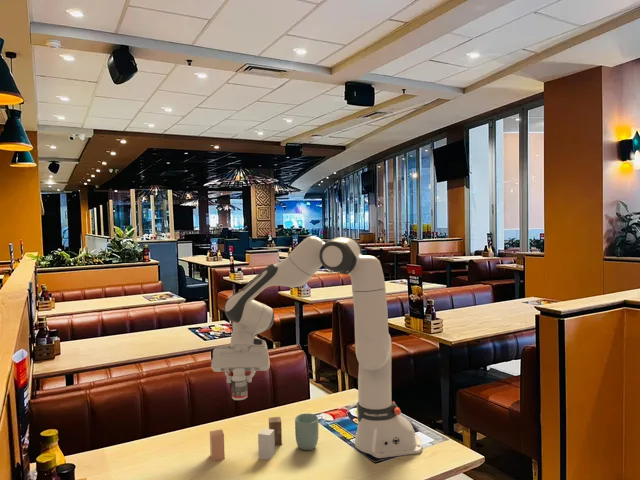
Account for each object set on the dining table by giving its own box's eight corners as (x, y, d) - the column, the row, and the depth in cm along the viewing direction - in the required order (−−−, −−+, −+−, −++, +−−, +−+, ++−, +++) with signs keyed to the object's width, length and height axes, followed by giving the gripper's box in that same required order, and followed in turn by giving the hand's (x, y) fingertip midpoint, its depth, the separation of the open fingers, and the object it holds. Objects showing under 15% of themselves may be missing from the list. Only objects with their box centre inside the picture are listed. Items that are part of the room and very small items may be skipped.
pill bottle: (231, 395, 164) (230, 367, 164) (246, 394, 166) (246, 366, 165) (232, 401, 159) (231, 372, 159) (248, 399, 160) (247, 371, 160)
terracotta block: (222, 452, 156) (222, 429, 155) (224, 458, 152) (223, 434, 151) (210, 455, 154) (209, 431, 154) (212, 461, 151) (211, 436, 150)
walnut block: (280, 439, 165) (280, 416, 164) (281, 444, 161) (281, 421, 160) (269, 440, 164) (268, 417, 163) (270, 445, 160) (269, 422, 159)
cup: (316, 454, 154) (315, 424, 153) (293, 452, 155) (292, 422, 155) (320, 442, 161) (320, 414, 161) (298, 441, 163) (298, 412, 162)
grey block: (274, 453, 155) (274, 429, 154) (270, 459, 151) (269, 435, 150) (263, 452, 156) (262, 428, 155) (258, 458, 152) (258, 433, 151)
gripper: (212, 341, 168) (206, 378, 159) (269, 340, 168) (267, 377, 159) (215, 350, 173) (210, 386, 164) (271, 349, 173) (269, 385, 164)
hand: (238, 381), depth 161 cm, fingers closed on pill bottle, 5 cm apart
